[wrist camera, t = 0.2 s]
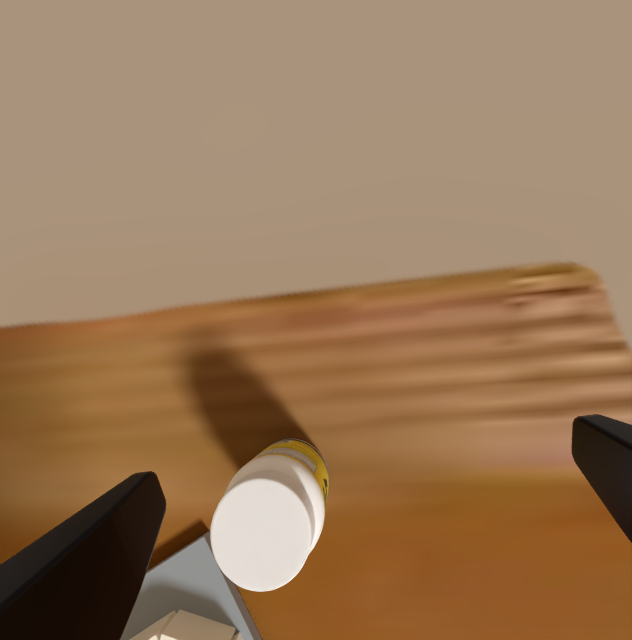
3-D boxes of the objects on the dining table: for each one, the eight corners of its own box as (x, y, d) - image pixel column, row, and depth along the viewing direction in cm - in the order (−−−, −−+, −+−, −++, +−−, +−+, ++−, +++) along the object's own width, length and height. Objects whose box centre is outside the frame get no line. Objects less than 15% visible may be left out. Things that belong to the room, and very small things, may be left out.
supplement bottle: (310, 533, 20) (287, 632, 12) (241, 496, 21) (176, 566, 13) (342, 457, 21) (341, 503, 13) (274, 424, 22) (233, 446, 14)
